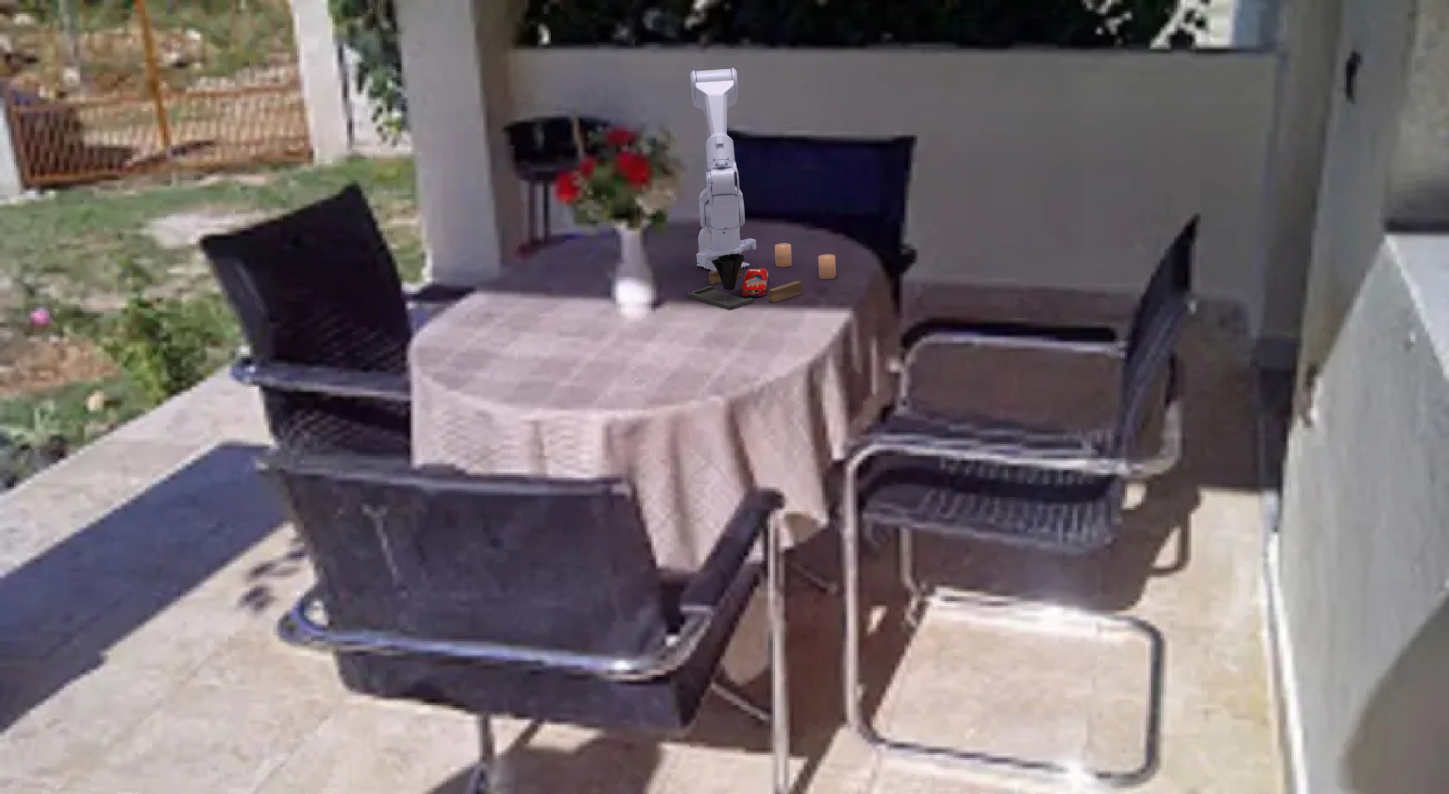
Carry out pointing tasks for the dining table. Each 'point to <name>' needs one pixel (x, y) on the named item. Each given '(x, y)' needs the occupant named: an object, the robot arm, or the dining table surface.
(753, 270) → the race car
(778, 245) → the peach rounded stick
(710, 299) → the tray
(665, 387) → the dining table surface
